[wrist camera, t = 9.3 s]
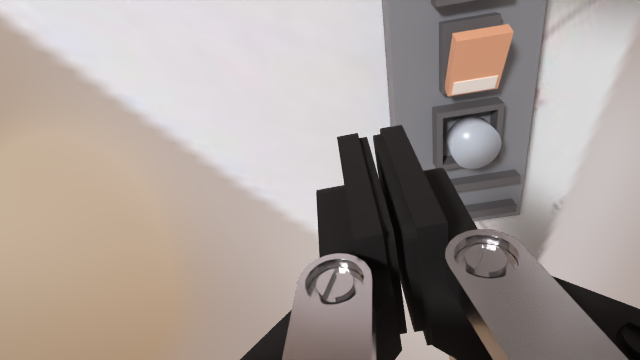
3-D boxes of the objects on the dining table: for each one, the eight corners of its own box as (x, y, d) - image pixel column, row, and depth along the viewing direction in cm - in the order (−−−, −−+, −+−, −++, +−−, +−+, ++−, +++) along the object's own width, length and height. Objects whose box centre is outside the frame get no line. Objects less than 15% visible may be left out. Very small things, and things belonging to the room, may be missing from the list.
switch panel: (375, -86, 31) (386, -87, 27) (539, -116, 30) (574, -122, 26) (396, 214, 45) (405, 240, 42) (507, 197, 45) (526, 223, 41)
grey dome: (445, 120, 35) (453, 130, 33) (493, 112, 35) (503, 122, 33) (445, 160, 37) (452, 172, 35) (490, 153, 37) (499, 165, 35)
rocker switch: (452, 33, 30) (456, 42, 29) (508, 23, 30) (514, 32, 29) (444, 88, 34) (448, 97, 33) (493, 80, 34) (498, 89, 33)
